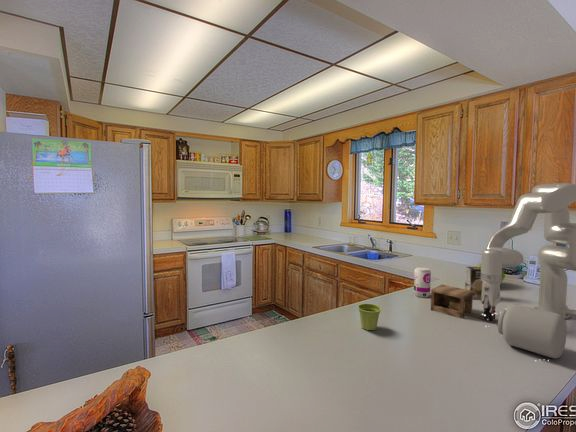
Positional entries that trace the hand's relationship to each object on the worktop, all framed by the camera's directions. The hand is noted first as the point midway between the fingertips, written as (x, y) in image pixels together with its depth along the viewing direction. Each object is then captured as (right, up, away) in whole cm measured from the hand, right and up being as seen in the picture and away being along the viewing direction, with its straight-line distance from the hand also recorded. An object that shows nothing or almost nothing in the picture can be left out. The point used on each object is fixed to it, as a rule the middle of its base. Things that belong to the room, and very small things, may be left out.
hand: (489, 319), depth 134 cm
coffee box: (+13, +1, +31) cm, 33 cm away
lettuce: (+32, +2, +51) cm, 60 cm away
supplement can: (-15, +1, +34) cm, 37 cm away
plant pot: (-54, -2, -7) cm, 55 cm away
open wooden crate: (-10, 0, +12) cm, 16 cm away
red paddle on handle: (-5, 0, +5) cm, 7 cm away
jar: (-6, -3, -24) cm, 24 cm away
